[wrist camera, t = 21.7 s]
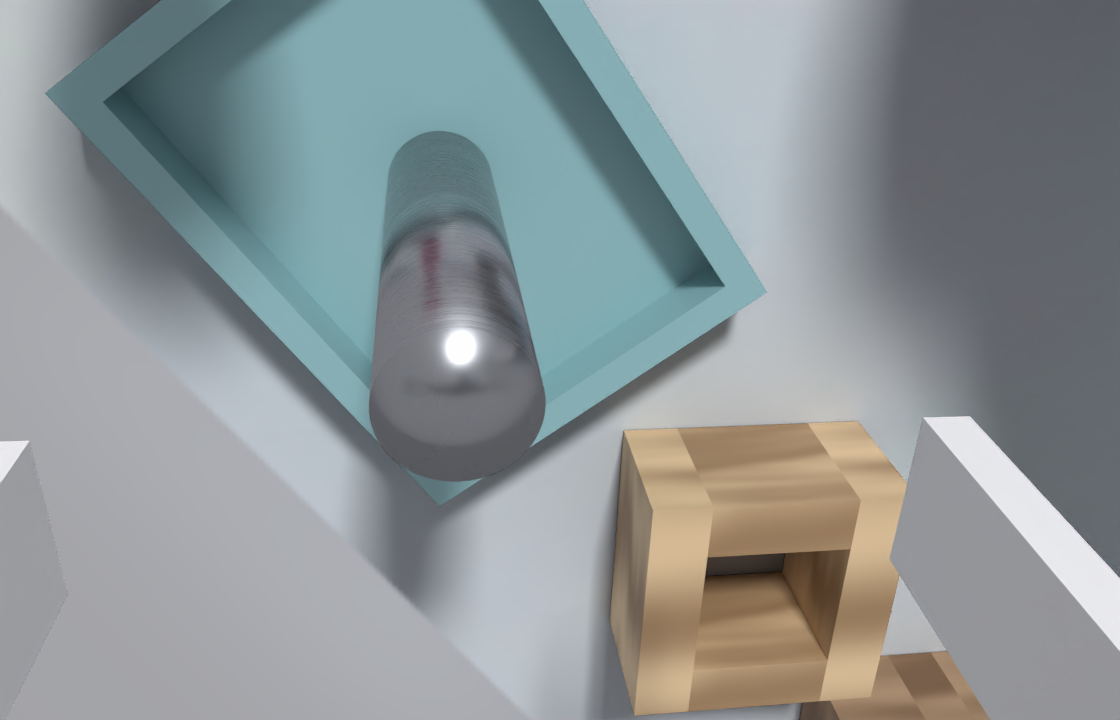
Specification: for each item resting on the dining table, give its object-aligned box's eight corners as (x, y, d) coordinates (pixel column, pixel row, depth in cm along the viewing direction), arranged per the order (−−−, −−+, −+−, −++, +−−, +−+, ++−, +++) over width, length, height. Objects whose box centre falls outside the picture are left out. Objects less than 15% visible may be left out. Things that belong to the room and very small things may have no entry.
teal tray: (73, 74, 28) (44, 93, 26) (439, -218, 26) (442, -225, 24) (438, 466, 36) (439, 506, 33) (743, 263, 33) (767, 292, 31)
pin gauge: (385, 130, 29) (364, 329, 17) (493, 131, 30) (548, 326, 17) (389, 232, 31) (372, 485, 18) (491, 231, 31) (543, 478, 19)
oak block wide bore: (623, 430, 36) (653, 510, 31) (858, 421, 37) (918, 497, 33) (609, 620, 40) (634, 715, 36) (821, 607, 41) (870, 697, 37)
